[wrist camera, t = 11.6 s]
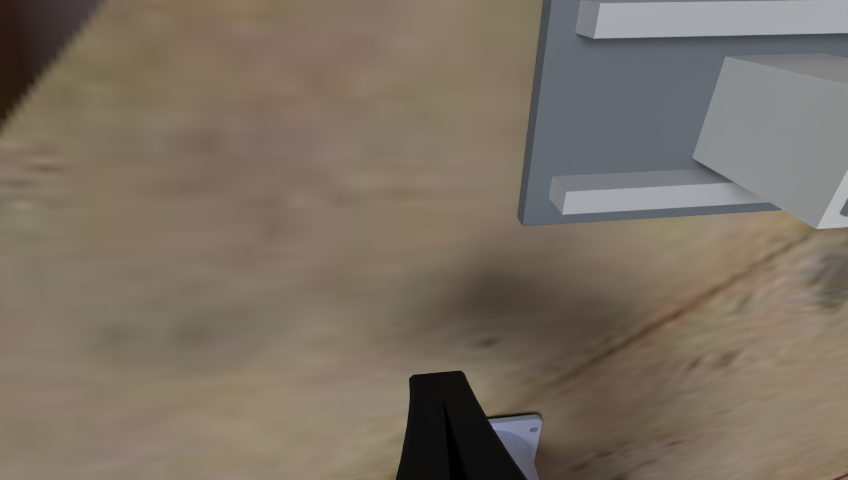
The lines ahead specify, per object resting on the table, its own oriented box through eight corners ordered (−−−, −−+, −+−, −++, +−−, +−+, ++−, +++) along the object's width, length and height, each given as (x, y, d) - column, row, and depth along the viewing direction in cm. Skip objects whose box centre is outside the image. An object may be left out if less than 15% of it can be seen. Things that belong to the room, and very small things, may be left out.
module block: (779, 153, 19) (940, 224, 14) (692, 158, 18) (821, 232, 13) (823, 53, 17) (1032, 90, 11) (725, 56, 16) (895, 96, 11)
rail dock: (873, 195, 22) (923, 218, 20) (517, 217, 20) (533, 244, 18) (1015, -47, 16) (1103, -49, 14) (548, -45, 15) (576, -47, 13)
